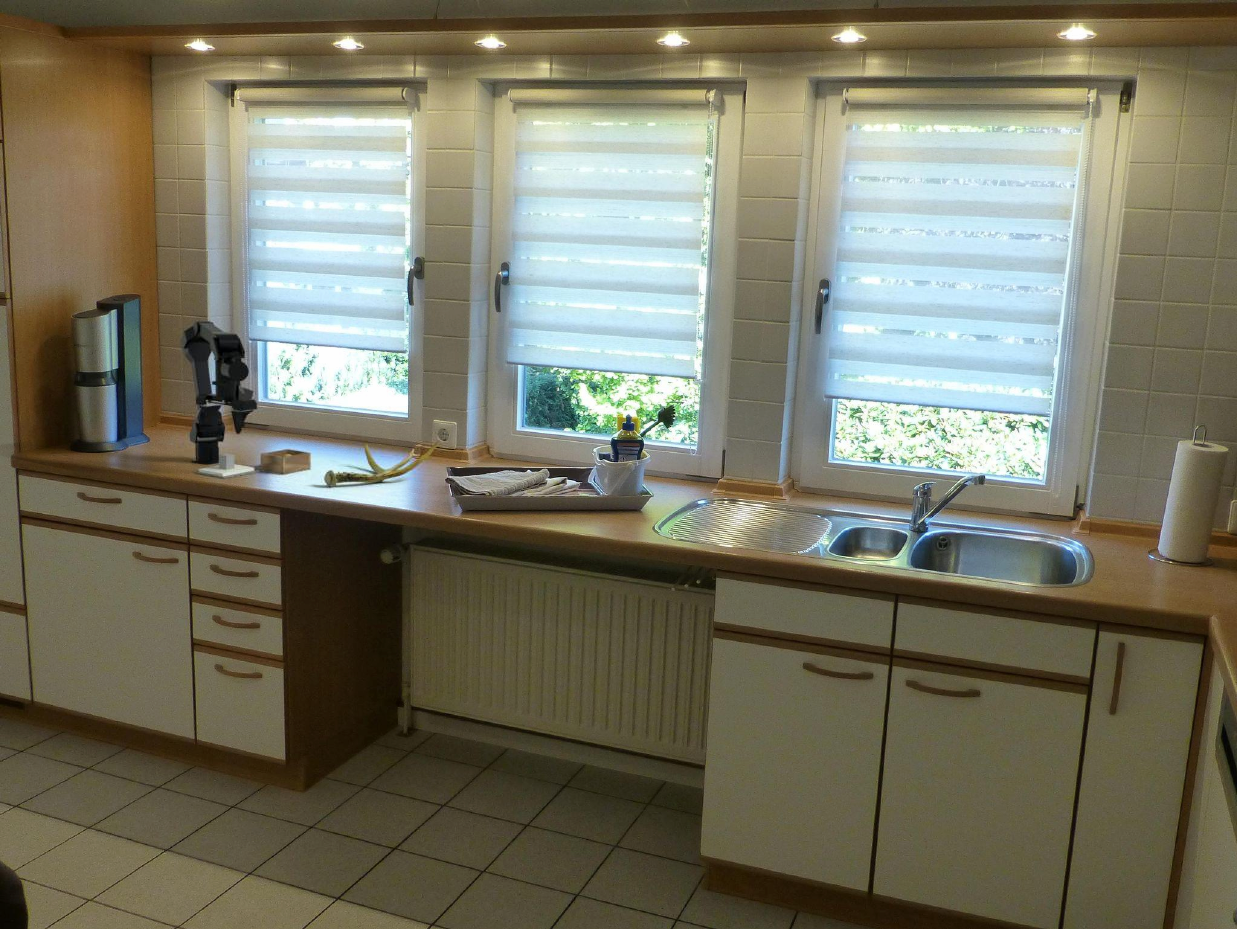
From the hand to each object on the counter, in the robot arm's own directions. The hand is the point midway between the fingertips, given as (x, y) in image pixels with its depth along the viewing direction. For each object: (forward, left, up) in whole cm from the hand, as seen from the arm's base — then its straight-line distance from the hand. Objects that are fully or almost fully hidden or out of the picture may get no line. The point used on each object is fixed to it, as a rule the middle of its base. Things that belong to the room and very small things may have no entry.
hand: (226, 431), depth 312 cm
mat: (0, 0, -12) cm, 12 cm away
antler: (+40, +23, -12) cm, 48 cm away
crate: (+9, +14, -12) cm, 20 cm away
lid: (0, 0, -12) cm, 12 cm away
